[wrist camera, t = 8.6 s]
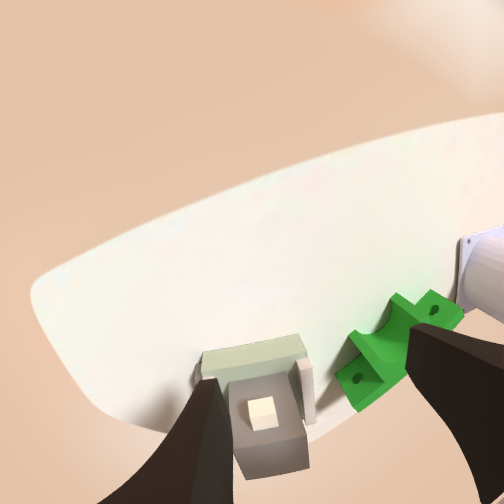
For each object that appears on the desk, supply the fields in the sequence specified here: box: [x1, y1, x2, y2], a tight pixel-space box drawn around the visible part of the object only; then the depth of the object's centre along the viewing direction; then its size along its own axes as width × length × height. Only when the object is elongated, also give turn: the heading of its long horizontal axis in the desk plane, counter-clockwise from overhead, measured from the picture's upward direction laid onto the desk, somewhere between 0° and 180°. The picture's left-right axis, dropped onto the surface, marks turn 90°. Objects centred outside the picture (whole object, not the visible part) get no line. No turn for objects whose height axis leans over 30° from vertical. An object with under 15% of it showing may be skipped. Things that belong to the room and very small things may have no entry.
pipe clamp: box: [335, 289, 464, 413], centre depth 19 cm, size 11×4×5 cm, turn 130°
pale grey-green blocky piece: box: [194, 334, 316, 426], centre depth 19 cm, size 8×7×4 cm
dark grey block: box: [228, 371, 310, 480], centre depth 15 cm, size 4×5×6 cm
